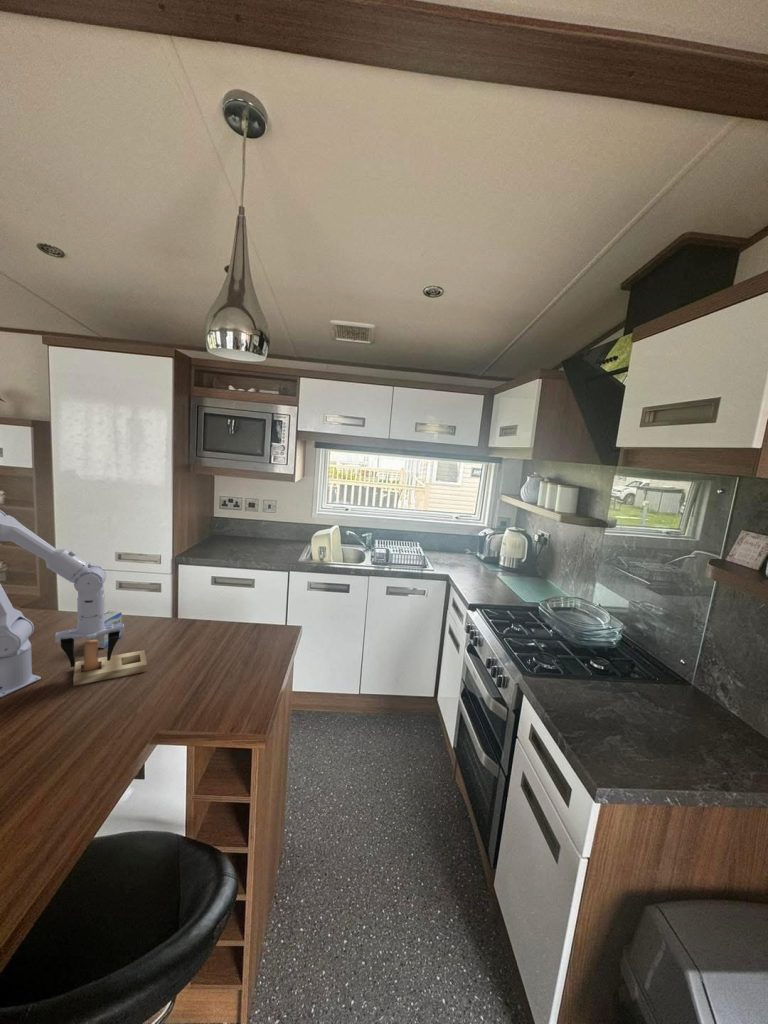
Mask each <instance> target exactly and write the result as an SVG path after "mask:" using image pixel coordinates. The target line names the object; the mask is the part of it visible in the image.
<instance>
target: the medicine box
mask: <svg viewBox="0 0 768 1024" xmlns="http://www.w3.org/2000/svg"><path fill="white" fill-rule="evenodd" d="M122 615H123V614H122V612H120V611H116V610H115V611H112V610H108V611H107V612H104V624H123V623H122ZM122 634H123V633H119V639H120V638H122V637H123V636H122ZM119 639H118V640H119ZM89 640H98V649H106V648H108V634H105V635H98V636H95V637H93V638H89Z"/></svg>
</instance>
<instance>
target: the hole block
mask: <svg viewBox="0 0 768 1024" xmlns="http://www.w3.org/2000/svg"><path fill="white" fill-rule="evenodd" d="M147 670H148V662H147V657H146V652H145V650H144V649H143V650H138V651H132V652H126V653H119V654H114V655H113V654H112V655H111V658H110V660H109V661H107V656H103V657H102V656H101V657H98V670H93V671H88V672H84V660H79V661H75V665H74V671H73V686H79V685H84V684H91V683H93V682H99V681H104V680H110V679H114V678H120V677H124V676H125V677H126V676H130V675H135V674H138V673H139V674H140V673H145V672H148V671H147Z"/></svg>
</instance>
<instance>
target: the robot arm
mask: <svg viewBox="0 0 768 1024" xmlns="http://www.w3.org/2000/svg"><path fill="white" fill-rule="evenodd" d="M0 542H11V543H14V544H15V545H17V546H19V547H21V548H23V549H24V550H26V551H28V552H29V553H31V554H34V555H35V556H37V557H39V558H41V559H43V561H45V566H46V568H47V569H49V570H50V571H52V572H53V573H55V574H56V575H58V576H60V577H62V578H63V579H65V580H67V581H68V582H70V583H73V587H74V589H75V590H76V592H77V603H76V604H77V607H76V608H77V618H76V619H77V620H76V621H77V627H76V628H72V629H67V630H63V631H59V632H58V631H57V632H55V635H54V639H55V640H54V641H55V644H57V643H60V648H61V650H62V651H63V652H64V653H65V654H66V656H67V658H68V661H69V663H70V667H71V668H75V664H76V658H75V656H76V655H75V639H83V638H84V639H85V638H86V639H90V638H93V637H95V636H98V635H105V634H108V646H107V653H106V654H107V655H106V657H107V661H109V660H110V658H111V656H112V655H113V654H112V652H113V651H114V648H115V646H116V644H117V643H118V641H119V633H122V634H124V633H125V624H124V623H122V624H104V614H105V602H106V601H105V594H104V593H105V587H104V586H105V585H104V584H105V582H106V579H107V573H106V571H105V570H104V569H103V568H102V567H101V566H100V565H94V564H93V563H92V562H90V563H88V562H87V561H85V560H84V559H82V558H81V557H80V556H78V555H77V554H78V553H77V552H76V551H75V550H73V549H72V550H68V549H67V548H65V549H64V548H63V549H59V548H58V549H57V548H56V547H54V546H53V545H51V544H50V543H48V542H47V541H45V540H44V539H43V538H41V537H40V536H38V534H36V533H35V532H33V531H32V530H30V529H28V528H27V527H26V526H25V525H24V524H22V523H20V521H19V520H17V519H16V518H15V517H14V516H11V515H9V514H8V515H7V514H6V513H5V512H4V511H3V510H1V509H0ZM34 631H35V626H34V623H33V622H32V621H31V620H30V619H28V618H26V617H25V616H24V614H23V612H22V611H21V610H18V609H17V608H14V606H13V603H11V601H10V599H9V598H8V595H7V593H6V591H5V590H4V588H3V586H2V584H1V583H0V698H3V697H5V696H7V695H10V694H11V693H13V692H16V691H18V690H20V689H22V688H24V687H26V686H29V685H31V684H33V683H36V682H38V681H39V680H41V679H42V677H41V676H39V675H36V674H33V668H32V667H33V666H32V665H33V663H32V643H31V642H30V640H29V639H30V638H31V636H32V635H33V633H34Z"/></svg>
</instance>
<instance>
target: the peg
mask: <svg viewBox="0 0 768 1024" xmlns="http://www.w3.org/2000/svg"><path fill="white" fill-rule="evenodd" d="M98 658H99V648H98V640H90V639H89V640H86V641H84V642H83V661H84V671H83V672H88V671H93V670H99V669H98Z"/></svg>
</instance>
